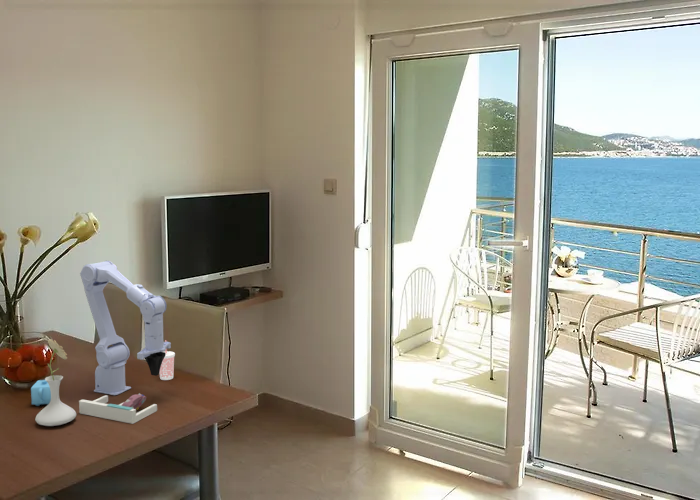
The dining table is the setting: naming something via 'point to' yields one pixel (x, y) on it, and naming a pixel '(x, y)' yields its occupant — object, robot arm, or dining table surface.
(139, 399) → the video game controller
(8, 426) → the dining table surface
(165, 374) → the beverage cup
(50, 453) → the dining table surface
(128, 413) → the comb rack
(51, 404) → the flower in vase
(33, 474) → the dining table surface
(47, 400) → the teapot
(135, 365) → the dining table surface
